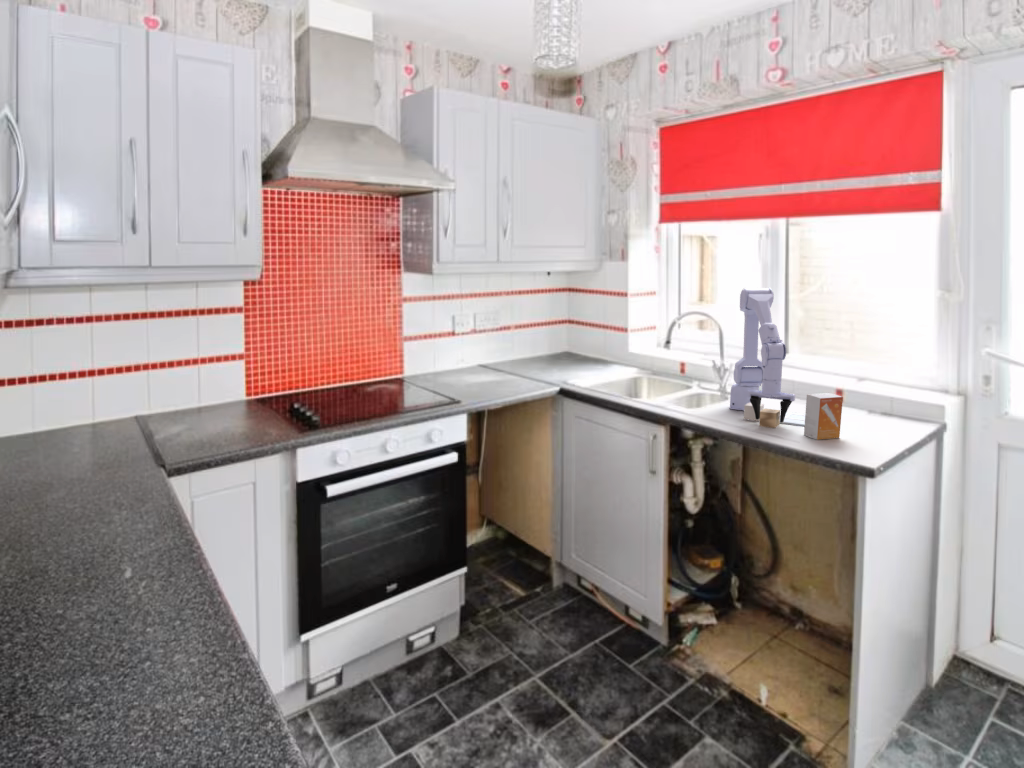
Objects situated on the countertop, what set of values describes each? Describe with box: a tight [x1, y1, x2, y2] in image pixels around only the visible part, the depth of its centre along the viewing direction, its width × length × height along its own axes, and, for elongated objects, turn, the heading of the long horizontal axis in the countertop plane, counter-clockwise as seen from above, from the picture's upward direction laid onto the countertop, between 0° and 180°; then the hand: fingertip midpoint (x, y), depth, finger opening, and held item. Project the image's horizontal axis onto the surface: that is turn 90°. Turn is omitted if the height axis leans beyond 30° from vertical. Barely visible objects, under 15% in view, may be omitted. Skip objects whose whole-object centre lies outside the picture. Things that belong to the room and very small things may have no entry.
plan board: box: [779, 411, 805, 427], centre depth 221 cm, size 12×15×1 cm
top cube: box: [743, 402, 765, 422], centre depth 224 cm, size 5×5×5 cm
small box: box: [803, 392, 844, 441], centre depth 199 cm, size 8×6×13 cm
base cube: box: [758, 408, 781, 429], centre depth 214 cm, size 5×5×5 cm
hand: (769, 420), depth 214 cm, fingers open, 7 cm apart
